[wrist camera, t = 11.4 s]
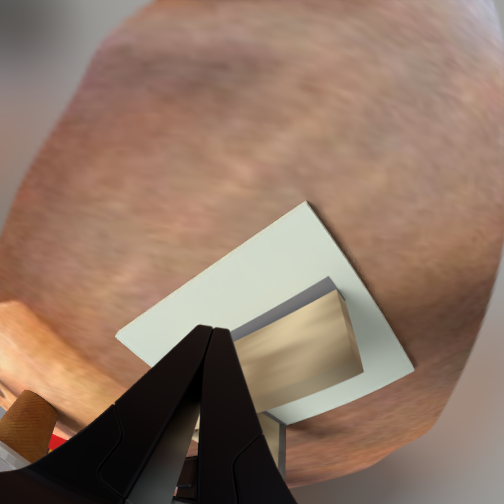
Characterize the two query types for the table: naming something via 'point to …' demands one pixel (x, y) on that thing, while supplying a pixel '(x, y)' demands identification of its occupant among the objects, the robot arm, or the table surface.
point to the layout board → (277, 306)
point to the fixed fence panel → (269, 440)
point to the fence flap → (300, 354)
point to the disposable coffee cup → (26, 430)
